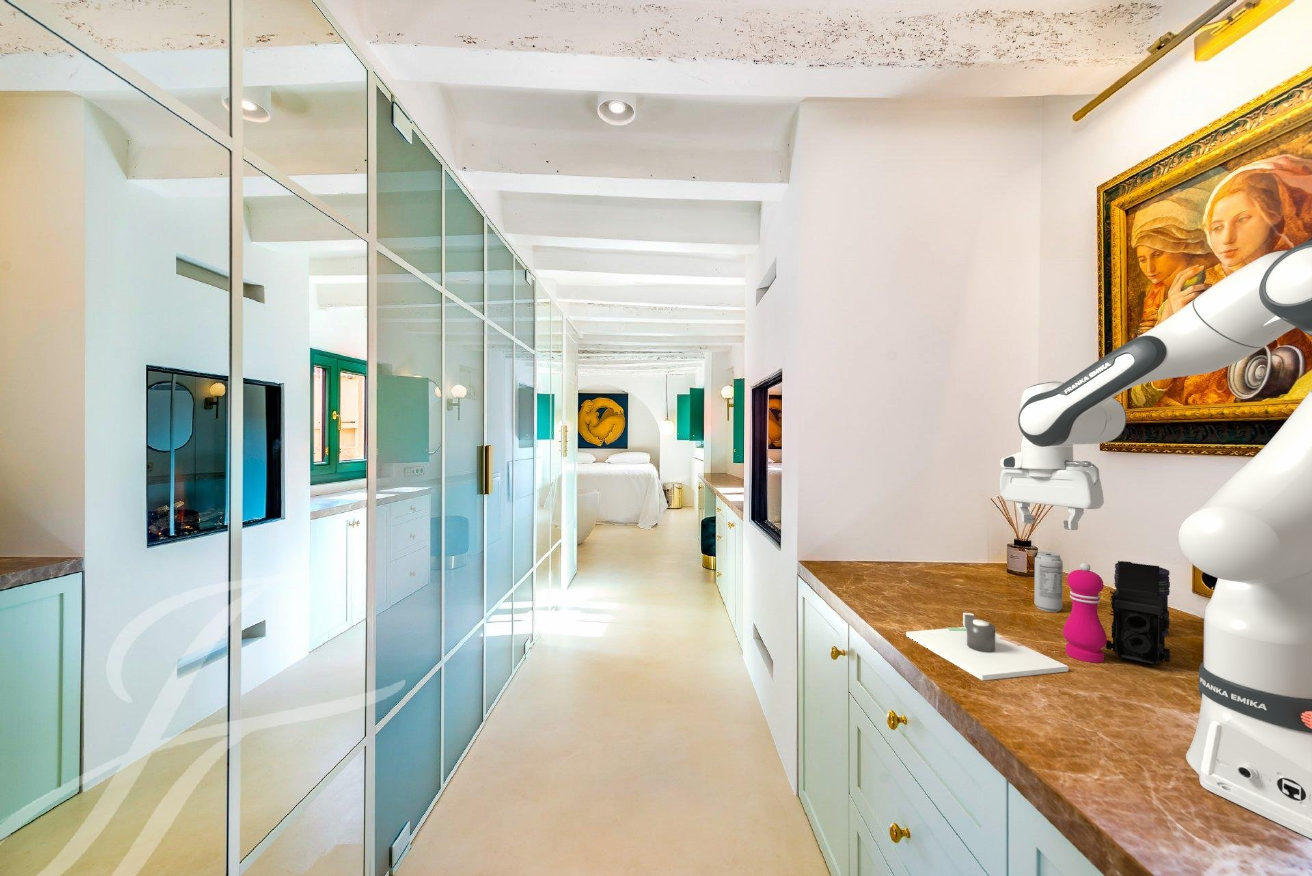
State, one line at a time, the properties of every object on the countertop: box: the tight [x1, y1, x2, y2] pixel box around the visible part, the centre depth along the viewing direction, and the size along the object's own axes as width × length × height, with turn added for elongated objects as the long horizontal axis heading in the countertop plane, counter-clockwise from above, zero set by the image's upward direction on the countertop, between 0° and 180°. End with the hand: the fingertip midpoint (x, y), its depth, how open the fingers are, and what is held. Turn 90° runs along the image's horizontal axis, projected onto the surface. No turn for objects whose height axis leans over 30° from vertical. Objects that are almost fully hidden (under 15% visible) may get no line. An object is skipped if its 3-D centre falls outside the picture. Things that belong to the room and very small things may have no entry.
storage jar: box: [1113, 562, 1171, 637], centre depth 125 cm, size 10×10×15 cm
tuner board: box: [905, 626, 1069, 681], centre depth 112 cm, size 22×20×1 cm
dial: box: [962, 612, 996, 652], centre depth 115 cm, size 13×5×5 cm, turn 162°
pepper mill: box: [1062, 562, 1108, 664], centre depth 110 cm, size 7×7×20 cm
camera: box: [1105, 560, 1171, 666], centre depth 108 cm, size 10×14×20 cm
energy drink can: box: [1033, 551, 1064, 613], centre depth 139 cm, size 6×6×15 cm
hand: (1048, 526), depth 108 cm, fingers open, 8 cm apart
